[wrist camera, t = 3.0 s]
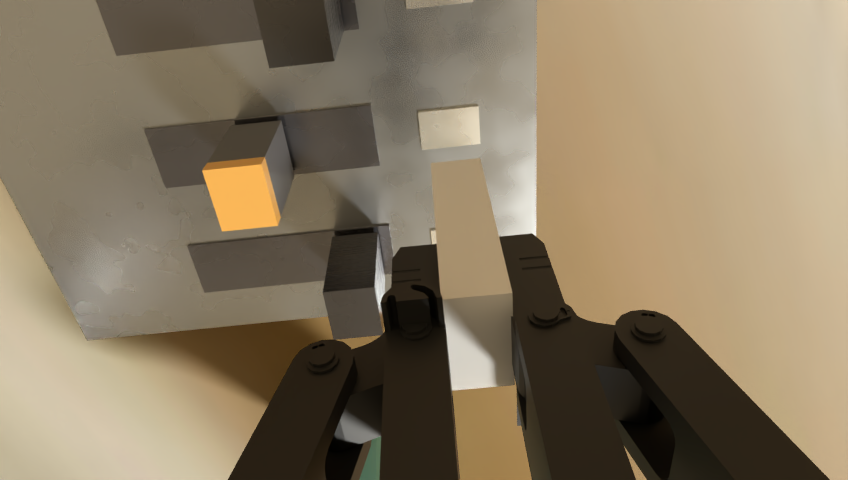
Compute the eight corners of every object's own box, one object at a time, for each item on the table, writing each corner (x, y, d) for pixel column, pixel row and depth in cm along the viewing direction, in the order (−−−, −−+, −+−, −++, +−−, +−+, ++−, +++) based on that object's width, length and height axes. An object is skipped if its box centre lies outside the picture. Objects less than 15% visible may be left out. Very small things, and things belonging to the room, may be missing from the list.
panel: (104, 314, 31) (41, 409, 26) (-90, -76, 21) (-255, -54, 16) (528, 271, 31) (556, 359, 25) (525, -147, 21) (570, -150, 15)
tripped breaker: (246, 180, 25) (222, 231, 21) (230, 125, 23) (202, 170, 20) (294, 175, 25) (278, 225, 21) (281, 120, 23) (261, 164, 20)
